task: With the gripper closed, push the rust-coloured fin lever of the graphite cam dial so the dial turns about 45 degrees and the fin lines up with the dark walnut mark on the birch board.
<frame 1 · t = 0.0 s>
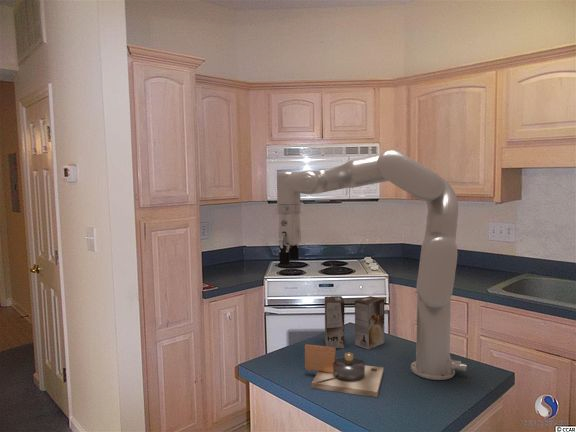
hand: (289, 261, 143), 31 cm above the worktop, tool pointing down, fingers open, 9 cm apart
coffee box: (334, 344, 155), on the worktop
dial board: (348, 379, 127), on the worktop
cam dial: (334, 360, 128), point 5 cm above the worktop, hinge at 0.0°
coffee box 2: (369, 344, 154), on the worktop
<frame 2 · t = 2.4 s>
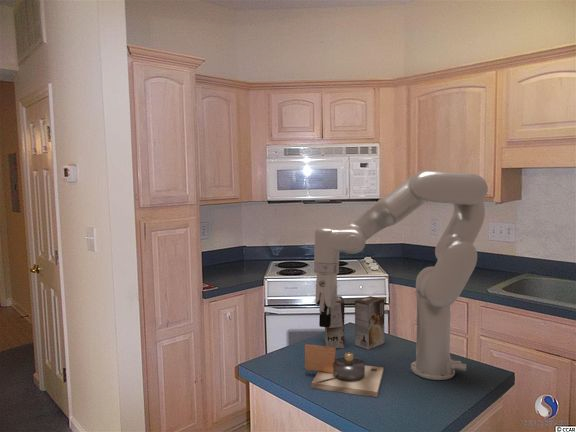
hand: (324, 326, 135), 13 cm above the worktop, tool pointing down, fingers closed
nothing on the worktop moved.
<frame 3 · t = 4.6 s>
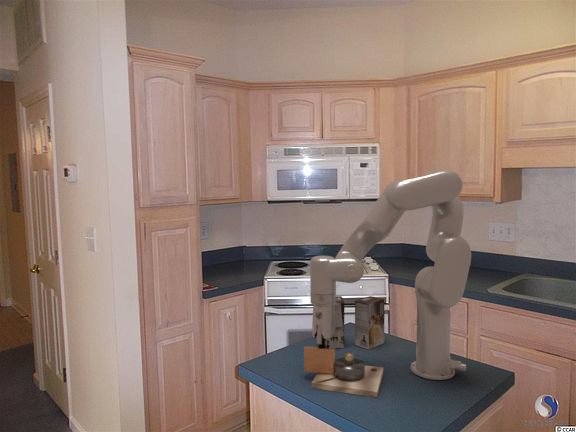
hand: (323, 358, 131), 5 cm above the worktop, tool pointing down, fingers closed
cam dial: (334, 360, 127), point 5 cm above the worktop, hinge at 8.3°, touching gripper
everything else where it was.
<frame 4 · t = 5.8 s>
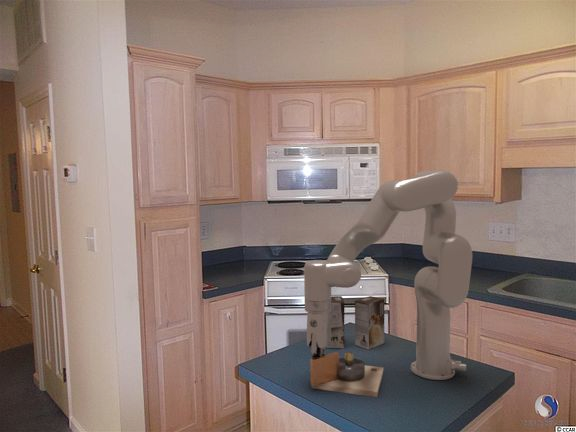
hand: (318, 367, 125), 4 cm above the worktop, tool pointing down, fingers closed
cam dial: (337, 365, 124), point 5 cm above the worktop, hinge at 49.0°, touching gripper
everything else where it was.
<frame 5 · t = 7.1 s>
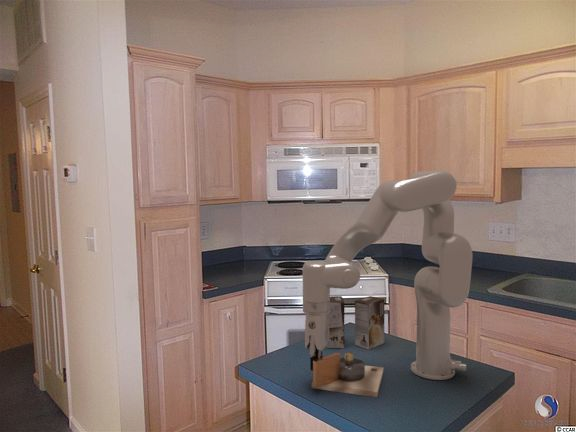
hand: (316, 370, 123), 5 cm above the worktop, tool pointing down, fingers closed
cam dial: (338, 365, 124), point 5 cm above the worktop, hinge at 55.2°
everything else where it was.
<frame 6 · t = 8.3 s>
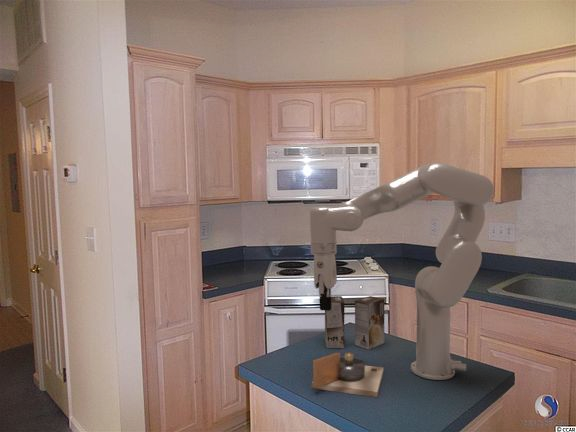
hand: (325, 309, 130), 19 cm above the worktop, tool pointing down, fingers closed
nothing on the worktop moved.
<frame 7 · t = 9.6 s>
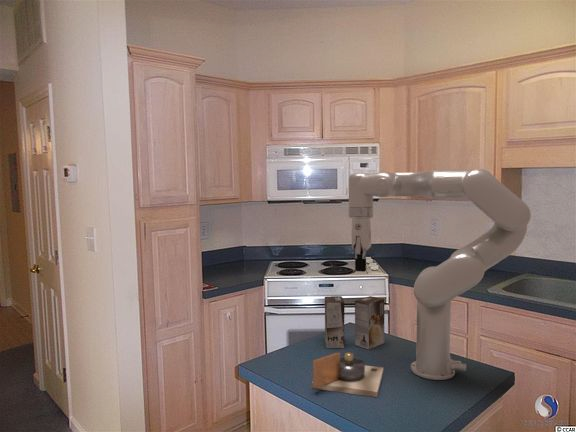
hand: (360, 270, 138), 29 cm above the worktop, tool pointing down, fingers closed
nothing on the worktop moved.
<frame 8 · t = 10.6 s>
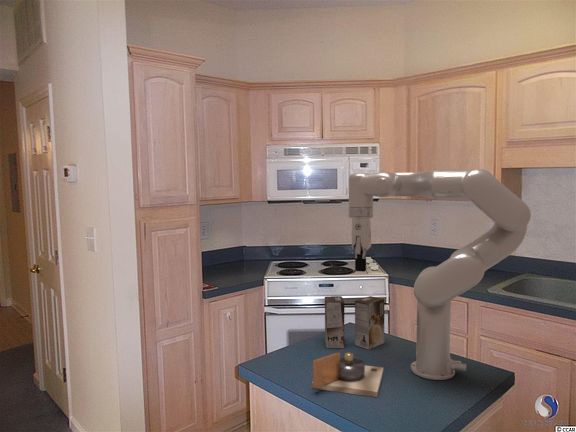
hand: (360, 270, 138), 29 cm above the worktop, tool pointing down, fingers closed
nothing on the worktop moved.
at the end: cam dial at +55° (first picture: +0°); coffee box moved 0.2 cm from its start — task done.
